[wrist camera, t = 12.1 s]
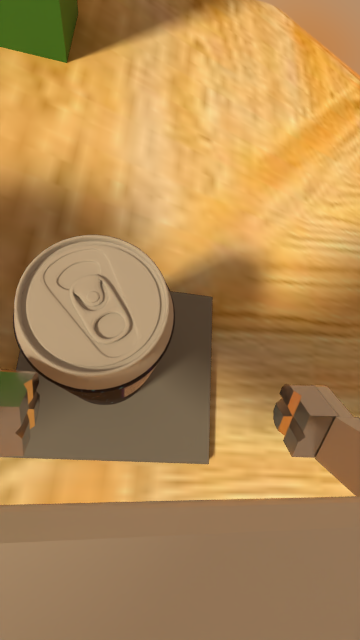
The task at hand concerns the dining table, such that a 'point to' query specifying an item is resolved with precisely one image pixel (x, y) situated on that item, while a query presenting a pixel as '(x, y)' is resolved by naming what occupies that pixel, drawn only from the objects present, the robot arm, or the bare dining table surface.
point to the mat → (138, 405)
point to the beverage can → (94, 317)
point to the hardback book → (38, 27)
